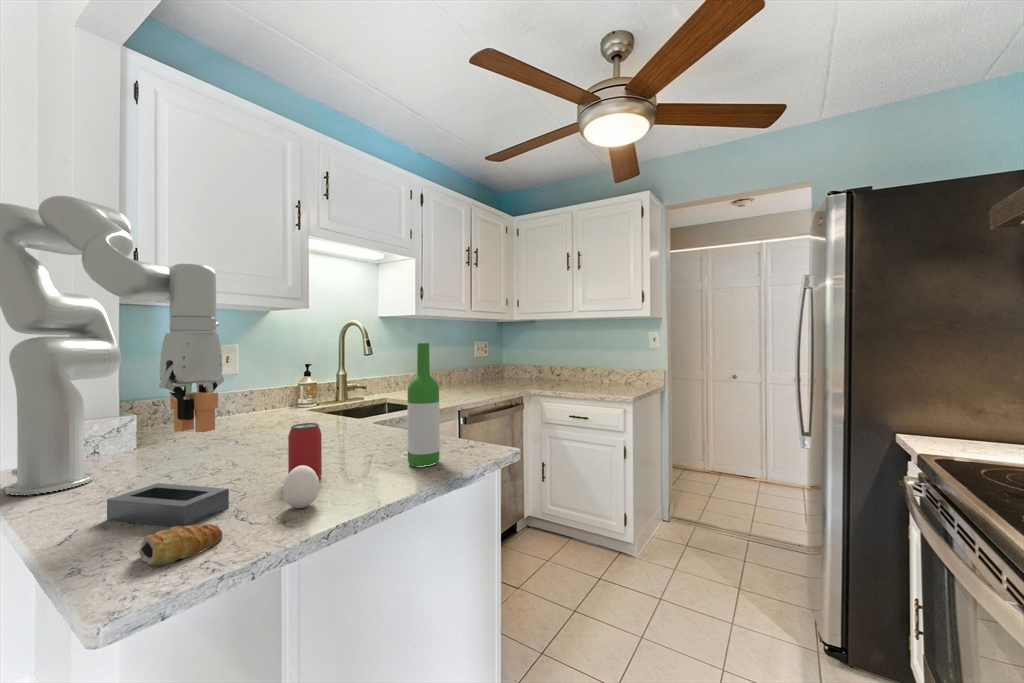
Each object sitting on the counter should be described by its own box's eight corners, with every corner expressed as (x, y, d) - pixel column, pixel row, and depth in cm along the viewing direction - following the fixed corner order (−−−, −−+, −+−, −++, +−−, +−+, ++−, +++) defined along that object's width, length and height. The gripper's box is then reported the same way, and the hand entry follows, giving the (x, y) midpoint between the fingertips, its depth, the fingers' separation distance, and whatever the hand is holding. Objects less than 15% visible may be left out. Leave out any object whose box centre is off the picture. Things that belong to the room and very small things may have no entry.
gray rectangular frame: (106, 519, 72) (106, 499, 72) (157, 501, 80) (157, 483, 80) (184, 527, 69) (184, 506, 69) (228, 507, 77) (228, 488, 77)
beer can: (308, 485, 89) (308, 428, 89) (281, 483, 90) (281, 427, 90) (327, 475, 96) (327, 422, 96) (302, 474, 97) (302, 421, 97)
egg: (324, 507, 77) (323, 466, 77) (287, 517, 73) (287, 473, 73) (314, 498, 82) (313, 459, 82) (279, 506, 78) (278, 465, 78)
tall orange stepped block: (170, 431, 84) (170, 393, 84) (184, 428, 87) (184, 392, 87) (205, 432, 83) (204, 394, 83) (218, 429, 86) (217, 392, 86)
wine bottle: (433, 458, 110) (433, 343, 110) (444, 465, 103) (443, 343, 103) (403, 462, 106) (403, 343, 106) (412, 470, 99) (412, 343, 99)
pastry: (209, 533, 67) (210, 509, 67) (231, 544, 64) (231, 519, 64) (134, 559, 59) (134, 532, 59) (154, 573, 56) (154, 544, 56)
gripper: (212, 328, 93) (213, 410, 93) (135, 325, 77) (136, 425, 77) (242, 327, 92) (243, 411, 92) (169, 324, 76) (170, 426, 76)
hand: (194, 416), depth 85 cm, fingers closed on tall orange stepped block, 3 cm apart
